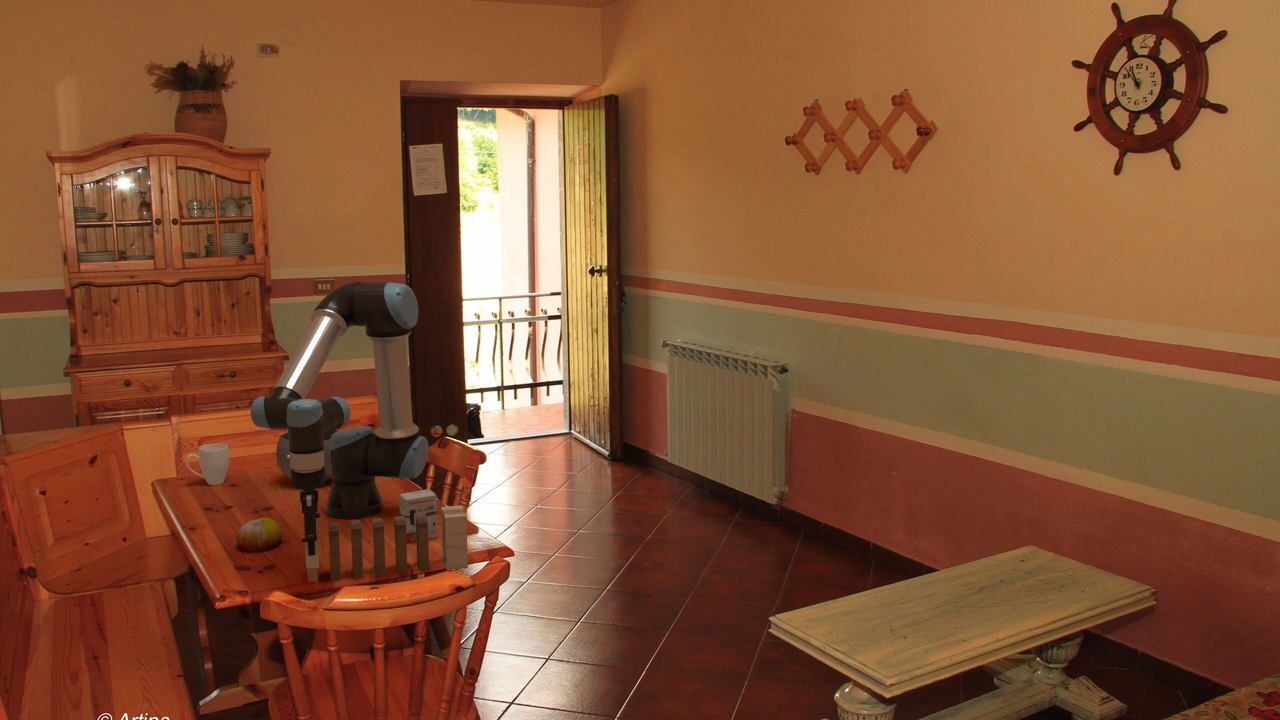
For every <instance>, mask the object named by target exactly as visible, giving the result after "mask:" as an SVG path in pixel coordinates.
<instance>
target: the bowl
mask: <svg viewBox="0 0 1280 720" xmlns="http://www.w3.org/2000/svg"><path fill="white" fill-rule="evenodd" d="M338 431H339V430H335V431H333V432H331V433H328V434H326V435H325V436H323V438H324V452H325V465H324V468H325V475H326V481H328V480H330V479H332V475H331V457H330V439H331V436H332V435H333V434H334V433H336V432H338ZM275 449H276V453H275V454H276V455H275V456H276V463H277V465H278V467H279V469H280V471H281V472H282V473H283V474H284V475H285V476H286V477H288V478H289V479H290V480H291V474H290V472H291V470H292V468H291V467H290V460H291V459H287V455H290V451H289V437H288V431H287V432H285V433H282V434H280V435H279V438H278V441H277V444H276V448H275Z"/></svg>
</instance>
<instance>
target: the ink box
mask: <svg viewBox="0 0 1280 720" xmlns="http://www.w3.org/2000/svg"><path fill="white" fill-rule="evenodd" d="M437 500H438V499H437V494H436V493H435V492H434V491H433V490H431V489H428V488H427V489H423V490H418V491H410V492H405V493H400V494H399V516H404V519H405V523H406V542H410V543H413V542H412V541H415V542H416V515H420V514H425V515H426V519H427V522H428V540H429V538H431V539H435V537H436V538H438V504H437V503H438V501H437Z"/></svg>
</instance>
